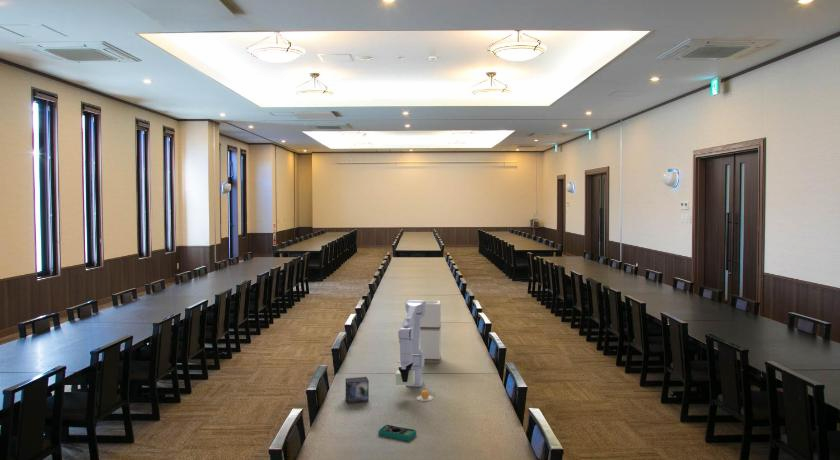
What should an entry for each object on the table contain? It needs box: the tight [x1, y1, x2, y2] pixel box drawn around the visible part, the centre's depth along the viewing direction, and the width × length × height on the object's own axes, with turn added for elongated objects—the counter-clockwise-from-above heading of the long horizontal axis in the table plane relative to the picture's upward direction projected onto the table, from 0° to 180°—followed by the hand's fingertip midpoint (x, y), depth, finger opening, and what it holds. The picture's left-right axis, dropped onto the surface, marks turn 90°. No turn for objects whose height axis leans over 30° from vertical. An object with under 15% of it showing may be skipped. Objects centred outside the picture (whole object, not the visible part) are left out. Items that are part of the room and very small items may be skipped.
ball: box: [420, 389, 430, 399], centre depth 277 cm, size 4×4×4 cm
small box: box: [344, 376, 370, 404], centre depth 275 cm, size 11×6×10 cm, turn 105°
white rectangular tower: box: [419, 300, 442, 364], centre depth 343 cm, size 11×11×35 cm
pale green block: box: [395, 369, 415, 386], centre depth 278 cm, size 6×8×6 cm
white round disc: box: [416, 394, 434, 402], centre depth 278 cm, size 8×8×1 cm
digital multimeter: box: [377, 424, 417, 442], centre depth 235 cm, size 7×15×3 cm, turn 65°
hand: (405, 379), depth 279 cm, fingers closed on pale green block, 6 cm apart
